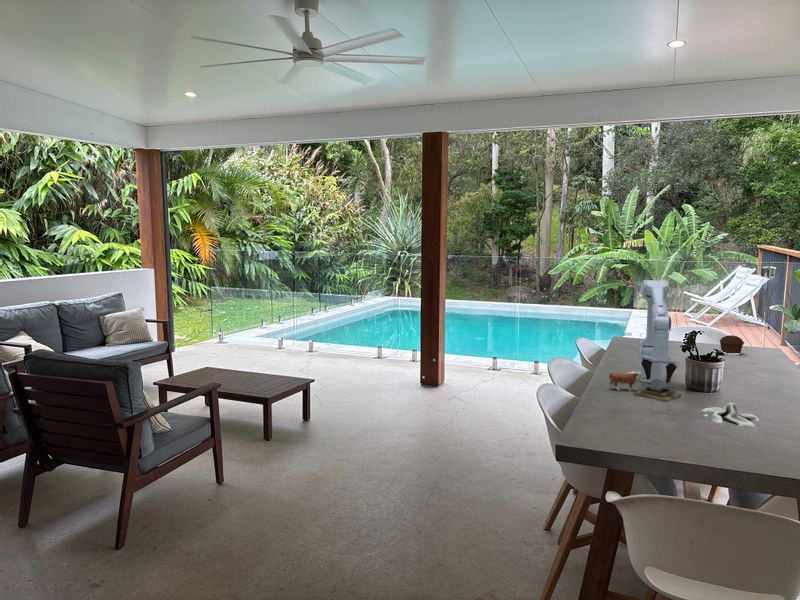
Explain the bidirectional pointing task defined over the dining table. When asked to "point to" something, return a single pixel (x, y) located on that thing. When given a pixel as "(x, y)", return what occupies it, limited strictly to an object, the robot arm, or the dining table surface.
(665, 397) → the brown square tray
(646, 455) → the dining table surface
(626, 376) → the bull figurine
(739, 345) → the muffin
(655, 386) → the grey wood-grain block
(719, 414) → the cloth
